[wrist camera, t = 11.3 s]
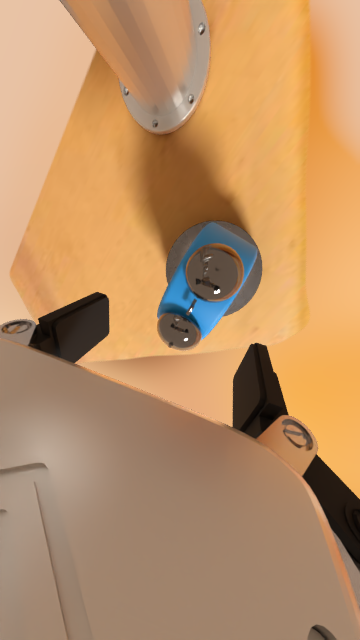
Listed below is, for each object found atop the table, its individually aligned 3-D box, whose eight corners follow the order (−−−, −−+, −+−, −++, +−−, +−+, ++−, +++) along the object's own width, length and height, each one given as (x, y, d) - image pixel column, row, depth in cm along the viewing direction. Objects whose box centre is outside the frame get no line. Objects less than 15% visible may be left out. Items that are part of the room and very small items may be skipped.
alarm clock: (216, 222, 24) (194, 212, 11) (254, 245, 24) (277, 261, 11) (176, 298, 31) (134, 345, 18) (206, 315, 31) (185, 376, 18)
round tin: (185, 213, 30) (174, 210, 25) (273, 233, 28) (281, 234, 22) (170, 293, 37) (160, 303, 32) (239, 314, 35) (239, 328, 30)
